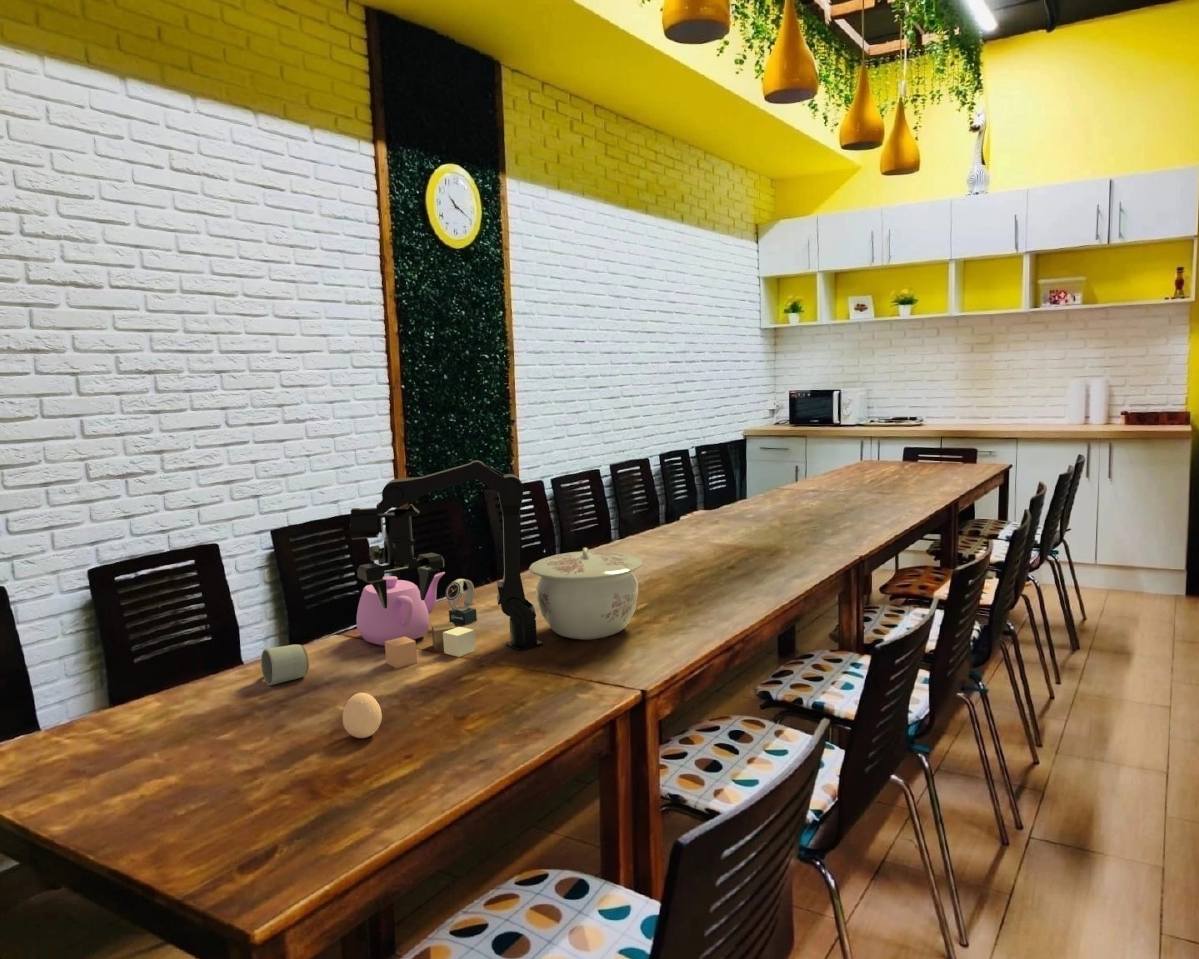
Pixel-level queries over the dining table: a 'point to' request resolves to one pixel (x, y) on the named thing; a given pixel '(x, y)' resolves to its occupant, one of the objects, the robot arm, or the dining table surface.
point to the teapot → (396, 611)
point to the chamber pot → (587, 592)
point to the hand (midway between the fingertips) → (404, 604)
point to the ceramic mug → (284, 663)
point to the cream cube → (459, 641)
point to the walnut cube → (440, 634)
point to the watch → (464, 613)
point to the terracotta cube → (400, 652)
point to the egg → (362, 715)
